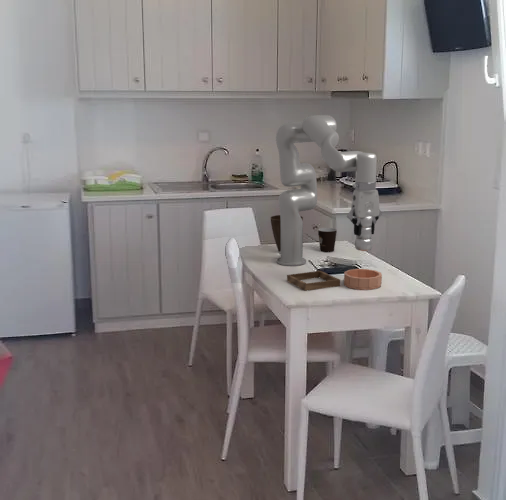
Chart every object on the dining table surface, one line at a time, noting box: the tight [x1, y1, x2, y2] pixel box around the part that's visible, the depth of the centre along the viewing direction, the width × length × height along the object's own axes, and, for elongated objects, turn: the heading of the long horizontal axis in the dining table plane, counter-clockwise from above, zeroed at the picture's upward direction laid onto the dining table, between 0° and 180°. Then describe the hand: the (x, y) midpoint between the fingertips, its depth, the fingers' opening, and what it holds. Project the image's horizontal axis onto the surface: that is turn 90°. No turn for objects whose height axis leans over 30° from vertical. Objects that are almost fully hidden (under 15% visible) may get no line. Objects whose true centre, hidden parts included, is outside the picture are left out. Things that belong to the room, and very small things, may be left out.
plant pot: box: [270, 214, 304, 253], centre depth 322 cm, size 15×15×16 cm
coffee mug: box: [317, 227, 338, 253], centre depth 325 cm, size 12×9×10 cm
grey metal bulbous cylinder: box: [354, 210, 374, 252], centre depth 263 cm, size 6×7×20 cm
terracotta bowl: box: [343, 268, 383, 291], centre depth 268 cm, size 14×14×4 cm
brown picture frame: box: [286, 270, 341, 292], centre depth 271 cm, size 15×15×2 cm
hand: (364, 233), depth 264 cm, fingers closed on grey metal bulbous cylinder, 5 cm apart
